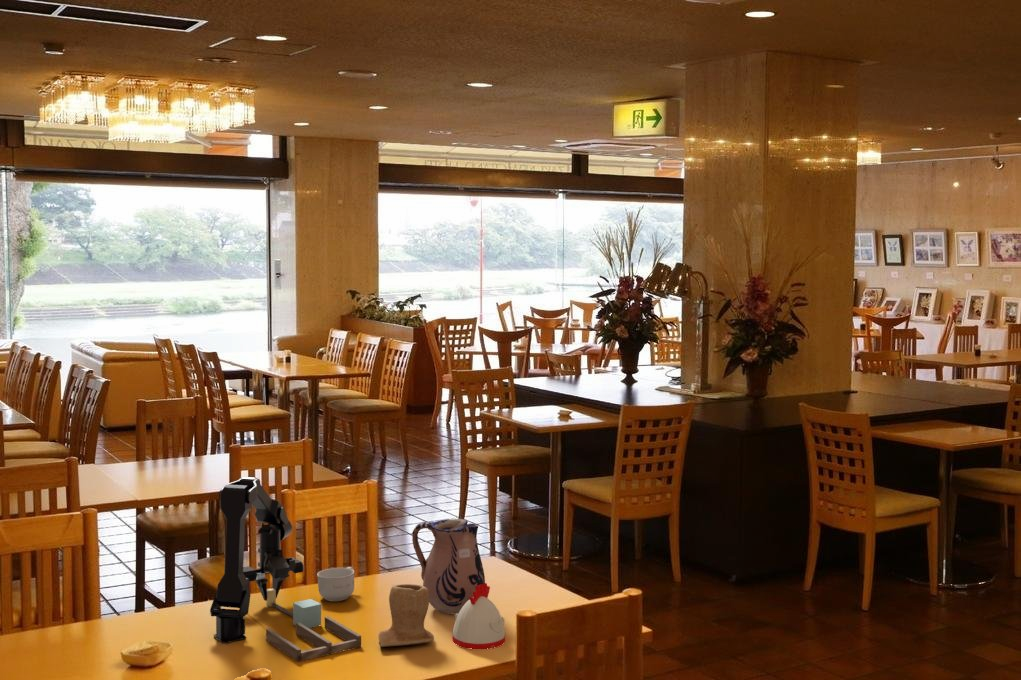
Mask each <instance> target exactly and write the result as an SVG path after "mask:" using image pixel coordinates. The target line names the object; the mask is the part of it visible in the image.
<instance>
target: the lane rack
mask: <svg viewBox="0 0 1021 680" xmlns="http://www.w3.org/2000/svg"><path fill="white" fill-rule="evenodd" d="M324 628H325V629H326V630H327V629H328V630H327V631H329V632H330V633H332V632H333V634H334V635H335V636H337V635H338V636H337V637H339V636H340V637H339V638H340V639H342V638H343V640H344V639H345V640H344V641H342V642H337V643H333V642H332V641H330V640H328V639H327V638H326V637H324V636H322V635H320V633H317V632H316V631H314V630H313V629H312V628H308V627H306V626H304V625H303V624H301V623H300V622H299V623H296V626H295V635H297V636H298V637H300V638H301V639H303V640H305V641H306V642H308V643H309V644H310V645H312V646H314V647H315V648H311V649H307V650H302V649H301V648H300V647H299V646H297V645H296V644H294V643H293V642H291V641H289V640H288V639H286V638H284V637H283V636H282V635H280V634H279V633H277V632H275V631H274V630H272V629H271V628H267V629H266V630H265V631H266V632H265V637H266V638H265V641H266V642H267V643H269V644H271V645H272V646H274V647H275V648H276V649H278V650H279V651H281V652H283V653H284V654H285V655H286V656H288V657H289V658H291V659H293V660H294V661H296V662H297V663H298V662H302V661H307V660H311V659H316V658H320V657H324V655H325V656H328V655H327V654H329V655H333V654H336V653H335V652H338V653H341V652H340V651H342V652H344V651H343V650H346V651H349V650H348V649H351V650H353V649H352V648H355V649H358V648H357V647H359V648H362V635H361V634H359V633H357V632H355V631H353V630H352V629H351V628H349V627H347V626H345V625H344V624H342V623H340V622H339V621H337V620H336V619H333V618H331V617H330V616H324ZM346 640H347V641H346ZM332 653H333V654H332Z"/></svg>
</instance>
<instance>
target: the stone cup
mask: <svg viewBox="0 0 1021 680" xmlns="http://www.w3.org/2000/svg"><path fill="white" fill-rule="evenodd" d="M388 603H389V610H390V614H391V626H390V628H388V629H385V630H382V631H381V630H380V631H379V633H378V645H379V647H380V648H384V647H385V648H387V647H401V646H402V647H403V646H410V645H419V644H424V643H425V644H427V643H430V642H433V641H434V639H435V636H434V634H433V633H432V632H430V631H429V630H427V629H426V628H425V621H426V620H425V619H426V617H427V613H428V610H429V606H430V603H429V591H428V589H427V588H426V587H424V586H423V585H421V584H411V583H409V584H408V583H407V584H396V585H395V584H394V585H392V586H391V589H390V592H389V596H388Z"/></svg>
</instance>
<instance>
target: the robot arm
mask: <svg viewBox="0 0 1021 680" xmlns="http://www.w3.org/2000/svg"><path fill="white" fill-rule="evenodd" d="M218 499H219V506H220V511H221V512H222V514H223V516H224V518H225V543H224V544H225V546H224V547H225V548H224V549H225V551H224V572H223V573H224V574H223V575H222V577H221V579H220V580H219V582H218V583H217V588H216V592H215V594H214V597H213V600H212V604H211V606H210V609H209V614H210V616H211V617H215V621H216V622H215V626H216V628H215V634H213V638H215V639H217V640H218V641H219V642H220V643H221V644H226V643H228V644H229V643H231V642H232V643H233V642H236V641H241V640H246V639H247V636H246V635H245V634H246V619H245V618H244V617H246V615H248V614H249V610H250V603H251V602H250V601H251V591H250V586H251V585H250V584H251V582H255V583H256V585H257V586H258V589H259V591H260V594H261V596H262V598H263V600H264V601H265V602H267V589H268V586H267V585H268V584H267V583H268V582H269V579H268V578H266V575H268V574H270V576H271V578H272V583H271V585H272V589H276V599H277V598H278V595H279V592H280V590H281V586H282V585H283V583H284V581H285V580H286V579H287V578H289V577H290V574H289V573H290V572H292V573H293V574H298V573H304V571H305V566H304V563H303V562H302V561H301V560H299V559H296V558H294V556H292V557H284V554H283V550H282V549H281V541H283V540H284V539H285V538H287V537H289V536H290V535H291V534H292V531H293V525H292V523H291V521H290V520H289V518H288V515H287V512H286V509H285V507H284V505H283V504H282V502H280V501H278V500H276V499H272V498H271V497H270V495H269V494H268V493H267V491H266V490H265V489H264V487H263V486H262V484H261V480H260V478H257V477H249V476H245V477H240V478H239V479H238V480H235V481H232V482H229V483H227V484H225V485H224V486H223V487H222V488H220V491H219V493H218ZM253 507H254V516H255V518H256V520H257V521H256V522H258V523H261V524H262V525H261V527H260V528H259V529H258V531H257V534H258V535H259V548H257V553H259V561H258V562H257V566H258V567H259V568H253V567H251V566H248V565H247V566H244V560H245V559H244V558H245V557H244V556H245V553H244V552H245V532H246V529H245V528H246V527H245V526H246V518H247V516H248V515H249V513H250V511H251V510H252V508H253ZM231 608H233V609H231Z"/></svg>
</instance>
